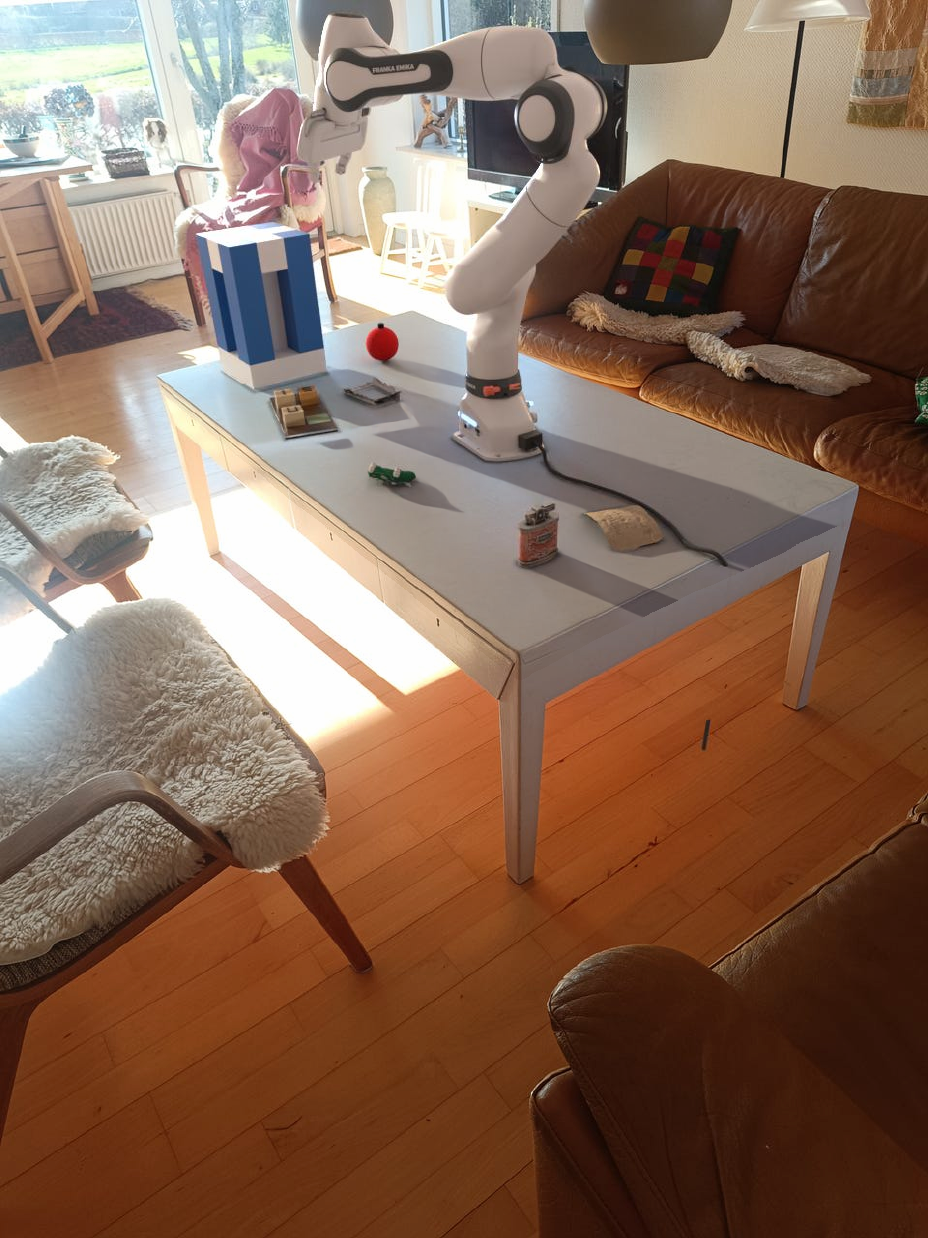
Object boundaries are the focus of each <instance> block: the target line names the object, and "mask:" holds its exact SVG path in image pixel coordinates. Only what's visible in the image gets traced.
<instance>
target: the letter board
mask: <svg viewBox="0 0 928 1238" xmlns="http://www.w3.org/2000/svg"><path fill="white" fill-rule="evenodd" d="M318 398H319V404H313V405H306V406H301V404H300V402H299V401H298V395H297V393H294V391H293V389H292V388H286V389H285V388H284V389H277V390H273V396H272V397H268V400H269V402H270V404H271V406H272V408H273V411H274V414H275V416H276V418H277V420H278V422H279V425H280V427H281V429H282V431H283V434H284V436H285V441H288V440H295V439H300V438H301V439H302V438H307V437H315V436H320V435H327V434H333V433H338V432H339V430H338V426H337V424H336V423H335V421H334V419H333V417H332V415H331V414H330V413H329V411H328V409H327V407H326V405H325V403H324V402H323V400H322V398H321V397H320V395H319V394H318Z"/></svg>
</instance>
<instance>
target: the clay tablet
mask: <svg viewBox="0 0 928 1238" xmlns="http://www.w3.org/2000/svg"><path fill="white" fill-rule="evenodd" d="M583 515H587V516H589V517H590V518H591V519H592V520H594V521H596V522H597V524H598V525H599V526H600V528H601V530H603V532H604V534H605V536H606V538H607V540H608V541H609V545H610V547H611V549H612V550H614V551H616V552H624V551H632V550H636V549H638V548H640V547H642V546H646V545H650V544H653V543H658V542H659V541H661V540H662V539H663V533H662V531H661V529H660V528H659V525H658V523H657V522H656V520H655V519H654V518H653V517H652V516H650V515H649V514H648V512H647V510H646V509H644V508H642V507H641V506H639V505H637V504H635V505H627V506H623V507H622V506H621V507H616V508H611V509H605V510H604V509H603V510H599V511H593V512H592V511H591V512H584V513H583Z"/></svg>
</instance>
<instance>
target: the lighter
mask: <svg viewBox="0 0 928 1238" xmlns="http://www.w3.org/2000/svg"><path fill="white" fill-rule="evenodd" d="M555 510H556V502H554V501H553V500H551V501H548V502H545V503H543V504H541V505H540V506H539V505H537V504H534V505H532V507H531V508H530V509H529V510H526V511H524V520H522V521H520V522H519V523H518V524H517V529H518V532H519V533H518V534H519V535H518V558H517V565H518V566H519V567H521V568H530V567H531V568H532V567H535V566H538V565H540V564H543V563H546V562H547V561H550V560H552V559H553V558H555V557H557V556H558V553H559V548H558V532H559V531H558V530H559V527H558V526H559V520H560V514H559V513H558V512H556V511H555Z"/></svg>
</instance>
